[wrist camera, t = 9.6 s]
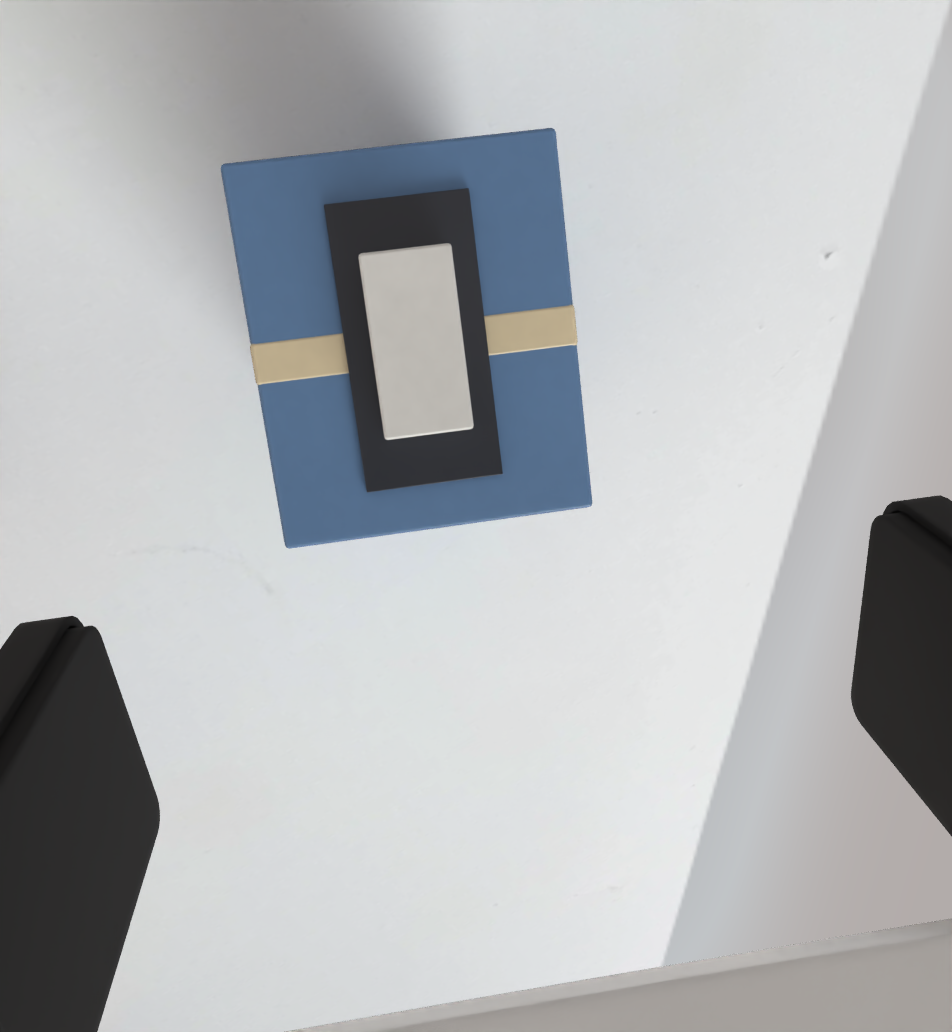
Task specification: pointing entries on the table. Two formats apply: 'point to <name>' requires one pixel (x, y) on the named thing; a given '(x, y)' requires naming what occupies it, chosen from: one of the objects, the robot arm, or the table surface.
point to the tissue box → (412, 334)
